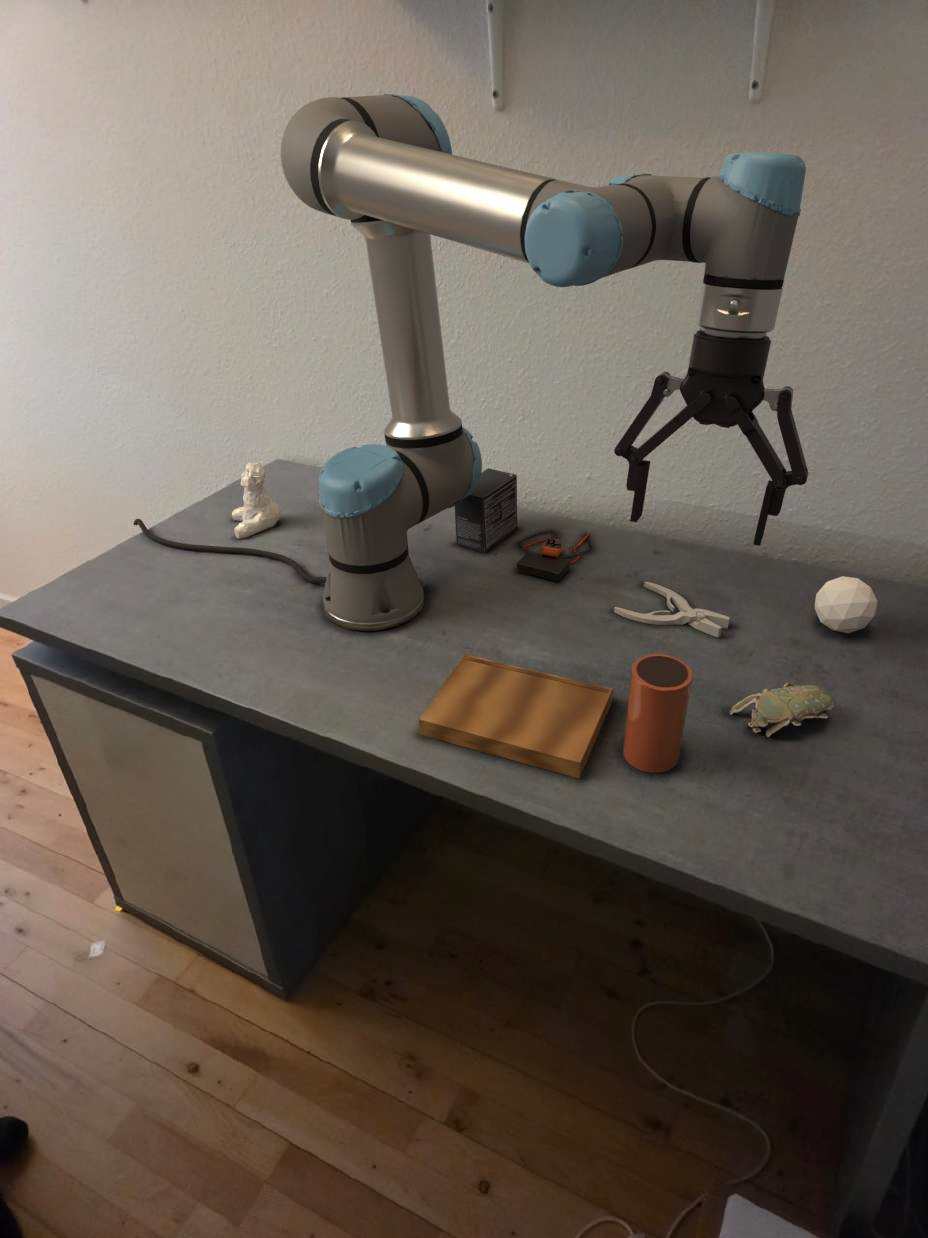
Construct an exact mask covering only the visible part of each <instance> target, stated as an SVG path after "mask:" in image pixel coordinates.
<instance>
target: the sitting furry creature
mask: <svg viewBox="0 0 928 1238" xmlns="http://www.w3.org/2000/svg"><path fill="white" fill-rule="evenodd" d="M240 476H241V479H240V486H241V487H243V489H244V490H243V496H242V501H243V506H239V507H237V508H235V509H233V510H232V512H231V518H232V520H233V521H236V522H239V523H238V524H237V525H236V526H235V527H234V528H233V531H234V535H235V537H236V539H246V538H249V537H252V536H254V535H256V534H258V533H261V532H264V531H265V530H268V529H271V528H273V527H275V525H276V524H277V523H278V521H280V517H281V510H280V507H279V505H278V504H277V502H275V501H274V500H273V499H272V498H271V497H270V496H269V494H268V492H267V491H268V490H267V488H265V487H264V484H265V479H266V471H265V469H264V468H263V466H262V464H261V462H260V461H257V462H252V461H250V462H248V463H247V464H245V471H244V472H242V473H241V474H240Z"/></svg>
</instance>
